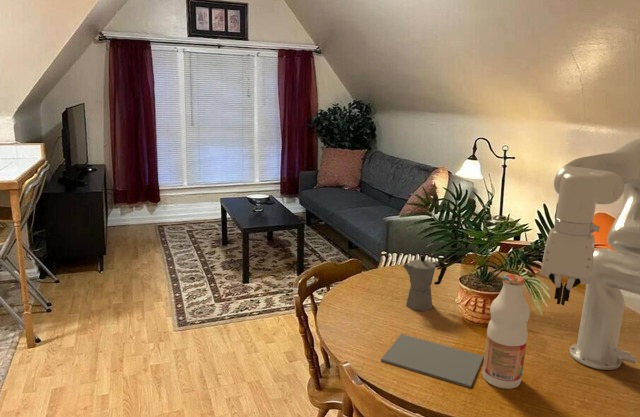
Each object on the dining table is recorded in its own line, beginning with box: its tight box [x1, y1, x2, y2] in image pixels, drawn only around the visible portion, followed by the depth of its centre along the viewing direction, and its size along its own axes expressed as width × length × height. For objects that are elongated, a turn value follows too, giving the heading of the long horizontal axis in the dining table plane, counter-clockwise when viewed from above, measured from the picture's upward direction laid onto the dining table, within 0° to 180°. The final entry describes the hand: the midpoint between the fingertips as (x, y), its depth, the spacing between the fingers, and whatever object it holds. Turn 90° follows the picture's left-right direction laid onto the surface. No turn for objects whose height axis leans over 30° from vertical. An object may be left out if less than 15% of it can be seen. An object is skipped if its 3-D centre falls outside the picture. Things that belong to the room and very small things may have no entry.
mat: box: [380, 333, 484, 389], centre depth 133 cm, size 24×16×1 cm, turn 61°
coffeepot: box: [402, 255, 448, 312], centre depth 164 cm, size 15×9×18 cm, turn 99°
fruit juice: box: [482, 273, 531, 390], centre depth 122 cm, size 9×9×28 cm
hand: (560, 302), depth 114 cm, fingers closed
